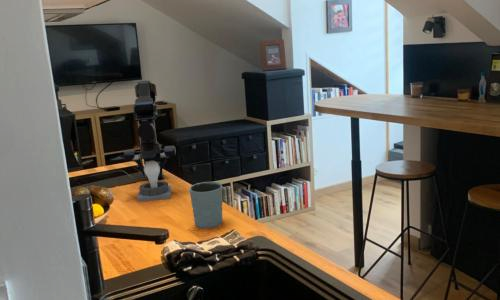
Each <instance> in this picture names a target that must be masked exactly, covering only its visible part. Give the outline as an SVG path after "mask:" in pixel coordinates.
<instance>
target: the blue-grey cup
mask: <svg viewBox="0 0 500 300" xmlns="http://www.w3.org/2000/svg"><path fill="white" fill-rule="evenodd" d="M189 196H190V201H191V208H192V214H193V219H194V225H195V227H196V226H197V228H198V227H199V229H214V228H217V227H219V226H221V224H223V185H222V184H221V183H219V182H216V181H203V182H197V183H195V184H192V185H191V186H189Z"/></svg>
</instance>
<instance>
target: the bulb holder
mask: <svg viewBox="0 0 500 300" xmlns="http://www.w3.org/2000/svg"><path fill="white" fill-rule="evenodd" d="M138 189H139V191H138V194H137V195H136V196H137V198H136V201H137V203H141V202H147V201H148V202H150V201H157V200H169V199H171V196H172V190H173V189H172V185H171V184H170V185H169V182H168V181H165V180H158V182H157V188H151V186H150V183H149V181H148V182H145V183H142V184H140V185H139V188H138Z"/></svg>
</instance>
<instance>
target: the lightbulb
mask: <svg viewBox="0 0 500 300" xmlns="http://www.w3.org/2000/svg"><path fill="white" fill-rule="evenodd" d="M143 166H144V172H145V176H146V177H147V178H148V179H149V181H148V182H149V183H150V186H151V188H157V182H158V181H159V180H158V175H159V172H160V165H159V164H158V163H157V162H156V161H149V162H146V164H145V165H143ZM148 179H147V180H148Z"/></svg>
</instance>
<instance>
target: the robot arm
mask: <svg viewBox="0 0 500 300" xmlns="http://www.w3.org/2000/svg"><path fill="white" fill-rule="evenodd" d="M134 93H135V97H136V99H135V101H134V104H133V105H132V106H133V118H134V122H138V123H137V124H138V127H137V129H136V131H137V136H138V137H139V138H140V139H139V140H140V145H139V146H140V148H139V149H140V151H139V150H137V151H136V149H134V148H133V149H126V150H125V151H124V152H123V161H132V162H133V163H136V165H137V166H138V167H139V169H140V171H141V173H142V176H143V177H145V176H146V174H145V172H144V166H145V164H146V163H147V162H149V161H156V162H157V163H158V164H159V165H160V172H159V175H158V181H164V179H165V174H164V173H163V167H164V165H166V164H167V159H169V157H174V156H176V152H177V151H176V146H175V145H165V146H163V147H164V148H162V146H161V144H160V142H158V141H157V133H156V123H155V120H157V117H158V106H157V105H156V103H155V102H156V100H157V96H158V91H157V86H156V84H155V83H152V82H151V81H150V80H140V81H138V82H137V84H136V85H135V86H134ZM147 180H148V182H149V179H147Z"/></svg>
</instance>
